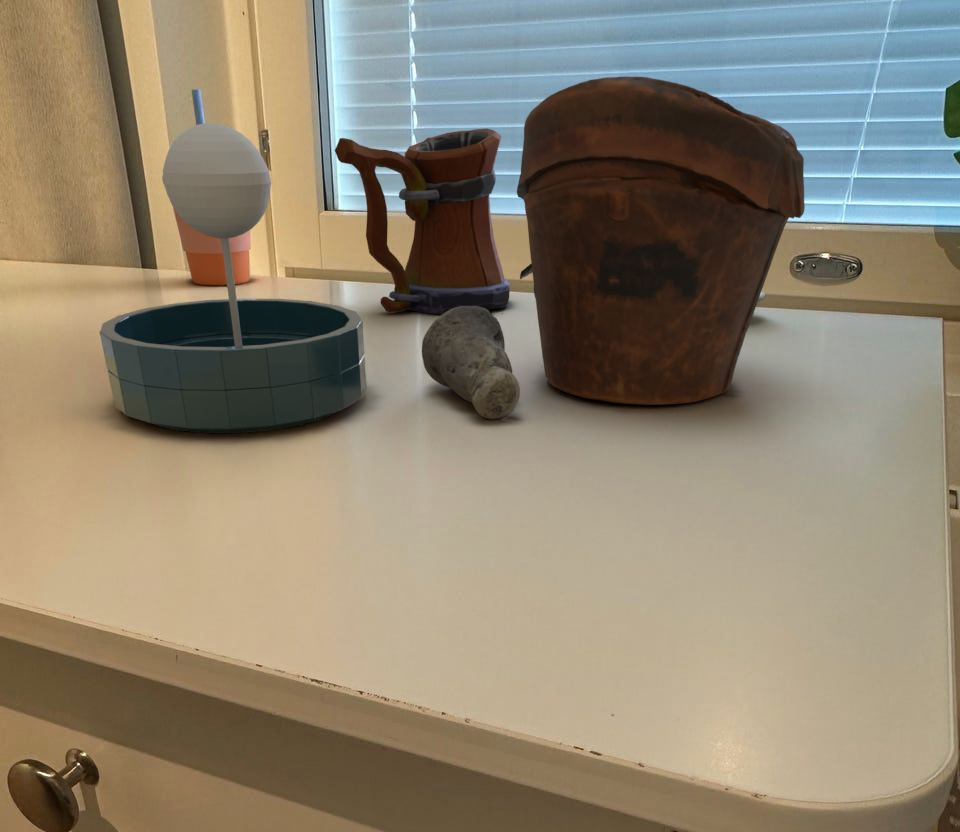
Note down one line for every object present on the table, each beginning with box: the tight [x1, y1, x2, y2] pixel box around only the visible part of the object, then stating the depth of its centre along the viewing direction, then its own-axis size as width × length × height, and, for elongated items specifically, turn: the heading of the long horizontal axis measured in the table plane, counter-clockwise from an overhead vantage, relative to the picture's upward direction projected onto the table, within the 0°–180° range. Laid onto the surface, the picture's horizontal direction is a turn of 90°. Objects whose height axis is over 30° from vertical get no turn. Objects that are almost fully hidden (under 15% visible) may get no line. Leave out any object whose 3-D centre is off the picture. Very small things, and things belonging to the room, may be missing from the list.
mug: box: [334, 128, 511, 315], centre depth 81 cm, size 18×12×15 cm, turn 132°
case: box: [516, 76, 806, 406], centre depth 58 cm, size 18×20×18 cm
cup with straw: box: [161, 88, 252, 286], centre depth 93 cm, size 9×9×18 cm
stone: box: [421, 306, 521, 420], centre depth 57 cm, size 10×5×8 cm
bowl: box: [99, 297, 367, 434], centre depth 56 cm, size 16×16×5 cm
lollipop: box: [162, 122, 272, 346], centre depth 53 cm, size 6×6×15 cm
